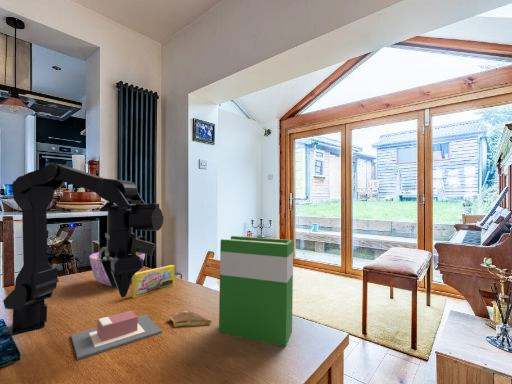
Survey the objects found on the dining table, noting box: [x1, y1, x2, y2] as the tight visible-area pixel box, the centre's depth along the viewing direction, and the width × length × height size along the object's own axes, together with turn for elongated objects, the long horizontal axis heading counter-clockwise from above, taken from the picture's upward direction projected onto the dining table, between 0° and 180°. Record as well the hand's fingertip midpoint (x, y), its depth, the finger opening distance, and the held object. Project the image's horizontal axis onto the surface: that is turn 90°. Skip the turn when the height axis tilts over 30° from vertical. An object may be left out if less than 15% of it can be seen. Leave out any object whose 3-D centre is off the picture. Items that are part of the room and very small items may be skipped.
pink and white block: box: [96, 310, 138, 342], centre depth 66 cm, size 5×8×4 cm, turn 133°
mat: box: [70, 314, 162, 361], centre depth 66 cm, size 18×12×1 cm, turn 131°
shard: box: [168, 310, 212, 328], centre depth 73 cm, size 11×8×2 cm
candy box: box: [130, 264, 176, 299], centre depth 97 cm, size 16×2×8 cm, turn 143°
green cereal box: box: [218, 235, 294, 348], centre depth 69 cm, size 18×7×24 cm, turn 71°
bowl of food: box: [88, 251, 146, 287], centre depth 106 cm, size 20×20×12 cm
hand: (118, 291), depth 67 cm, fingers open, 9 cm apart
